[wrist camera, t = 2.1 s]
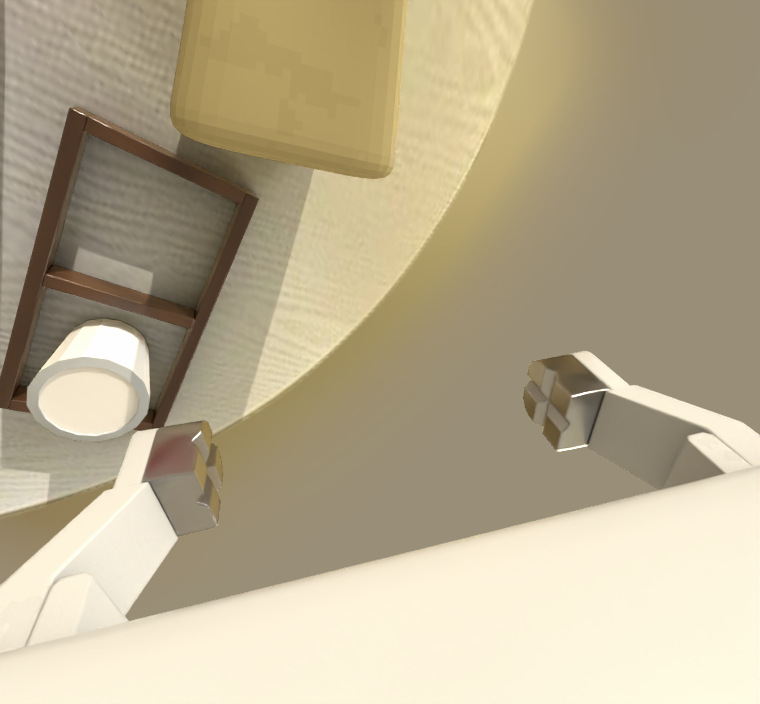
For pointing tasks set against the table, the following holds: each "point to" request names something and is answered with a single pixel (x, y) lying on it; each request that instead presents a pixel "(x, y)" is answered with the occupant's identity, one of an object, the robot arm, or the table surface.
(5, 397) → the holder
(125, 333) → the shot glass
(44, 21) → the table surface
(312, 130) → the cheese
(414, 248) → the table surface
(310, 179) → the table surface
